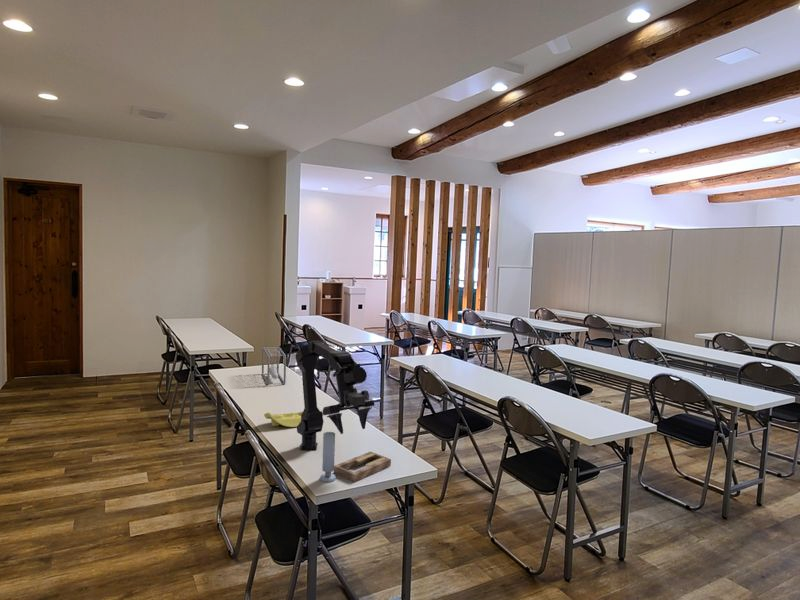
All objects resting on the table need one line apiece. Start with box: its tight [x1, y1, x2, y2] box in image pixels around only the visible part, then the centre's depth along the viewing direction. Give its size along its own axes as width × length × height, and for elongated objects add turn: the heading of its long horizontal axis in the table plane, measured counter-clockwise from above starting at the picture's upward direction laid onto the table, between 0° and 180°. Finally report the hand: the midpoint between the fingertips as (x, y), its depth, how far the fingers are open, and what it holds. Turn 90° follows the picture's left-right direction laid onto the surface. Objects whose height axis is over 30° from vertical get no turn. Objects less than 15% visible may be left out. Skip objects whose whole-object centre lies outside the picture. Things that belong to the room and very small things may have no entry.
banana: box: [264, 411, 303, 428], centre depth 230 cm, size 20×7×10 cm
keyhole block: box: [333, 451, 392, 483], centre depth 185 cm, size 19×10×3 cm, turn 140°
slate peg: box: [319, 431, 336, 483], centre depth 175 cm, size 5×5×16 cm
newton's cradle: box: [261, 346, 287, 386], centre depth 309 cm, size 30×10×18 cm, turn 21°
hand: (353, 431), depth 179 cm, fingers open, 9 cm apart
